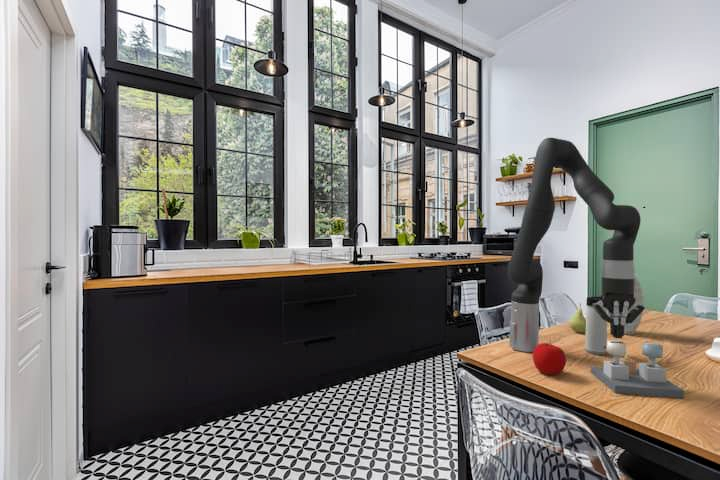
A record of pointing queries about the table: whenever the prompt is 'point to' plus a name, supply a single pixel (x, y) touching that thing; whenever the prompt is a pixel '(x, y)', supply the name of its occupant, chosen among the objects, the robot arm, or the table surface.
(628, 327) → the vase
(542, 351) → the fruit
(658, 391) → the plate
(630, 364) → the trim pot
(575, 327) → the fruit
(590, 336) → the travel mug
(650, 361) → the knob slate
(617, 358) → the knob ivory
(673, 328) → the table surface
